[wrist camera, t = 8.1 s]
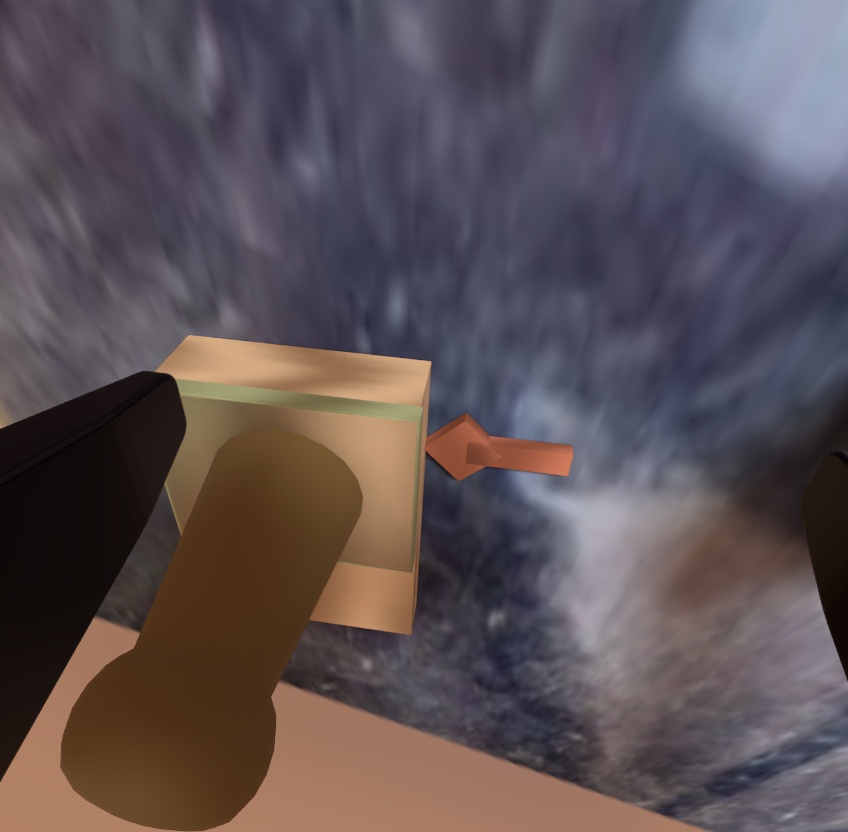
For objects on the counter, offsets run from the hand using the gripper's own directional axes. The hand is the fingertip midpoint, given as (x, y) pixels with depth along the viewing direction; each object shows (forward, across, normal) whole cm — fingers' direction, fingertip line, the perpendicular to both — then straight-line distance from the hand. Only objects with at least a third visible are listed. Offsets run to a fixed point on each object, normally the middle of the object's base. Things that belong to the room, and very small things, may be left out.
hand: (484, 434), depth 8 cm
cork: (+9, +7, +11) cm, 16 cm away
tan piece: (+13, +4, +15) cm, 20 cm away
